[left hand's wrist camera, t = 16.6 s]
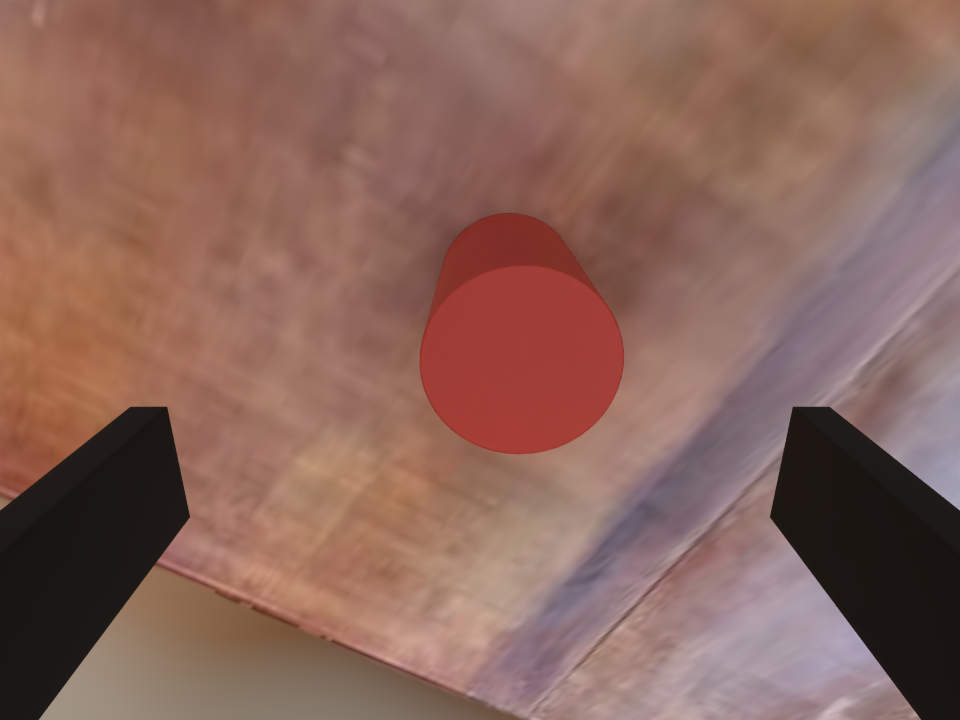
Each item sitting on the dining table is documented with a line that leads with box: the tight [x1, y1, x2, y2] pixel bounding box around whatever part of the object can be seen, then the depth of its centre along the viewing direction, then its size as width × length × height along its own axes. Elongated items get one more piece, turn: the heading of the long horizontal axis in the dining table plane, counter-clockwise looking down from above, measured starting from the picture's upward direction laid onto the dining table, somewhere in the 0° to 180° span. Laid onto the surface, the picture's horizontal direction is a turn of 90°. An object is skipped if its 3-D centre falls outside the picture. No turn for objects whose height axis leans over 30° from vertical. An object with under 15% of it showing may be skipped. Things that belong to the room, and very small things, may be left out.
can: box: [420, 213, 624, 454], centre depth 26 cm, size 7×7×12 cm
